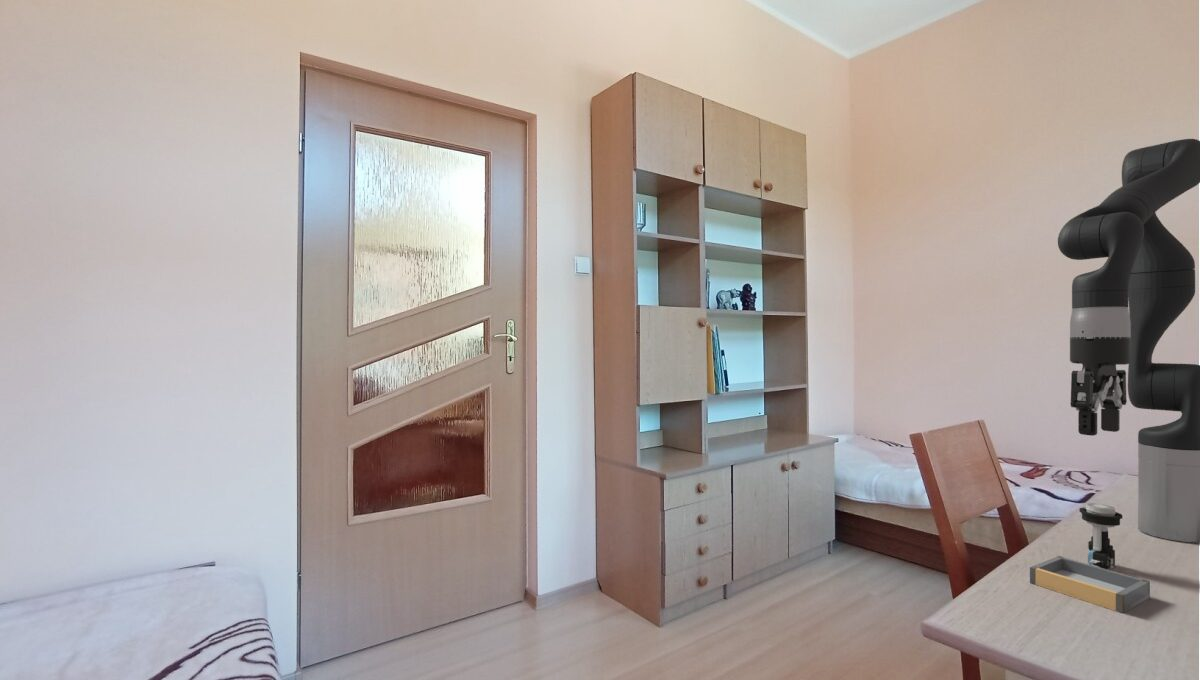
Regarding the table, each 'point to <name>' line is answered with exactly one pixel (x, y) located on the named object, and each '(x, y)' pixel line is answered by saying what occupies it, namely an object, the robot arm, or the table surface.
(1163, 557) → the table surface
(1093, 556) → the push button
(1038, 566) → the tray
